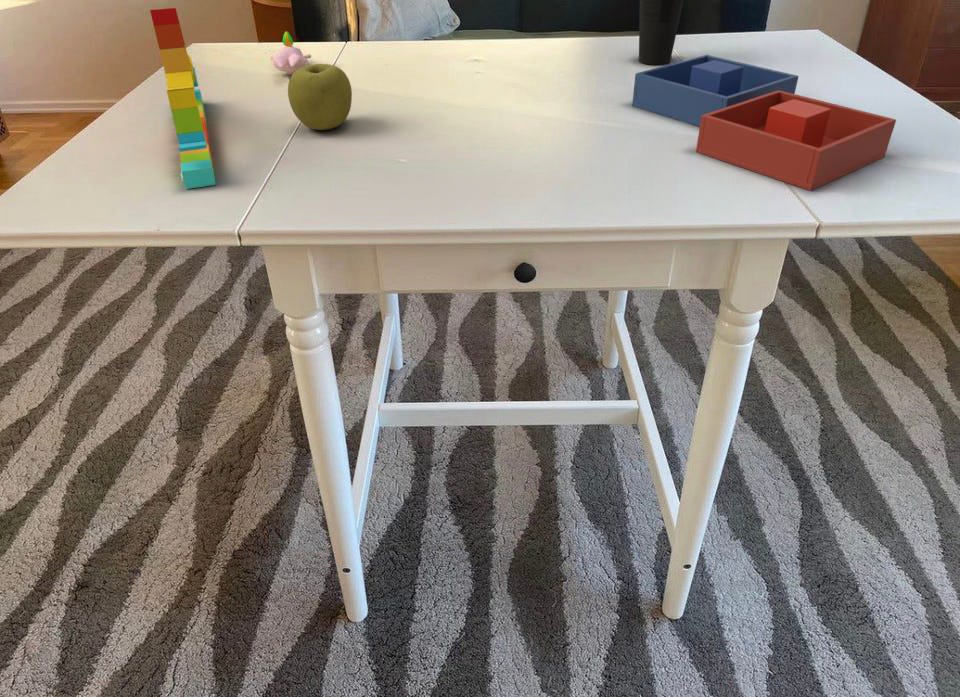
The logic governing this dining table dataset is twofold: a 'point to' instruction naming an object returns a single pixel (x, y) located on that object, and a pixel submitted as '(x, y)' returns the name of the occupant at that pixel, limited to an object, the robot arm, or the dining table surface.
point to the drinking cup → (658, 30)
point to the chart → (184, 101)
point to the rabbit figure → (289, 57)
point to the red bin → (748, 146)
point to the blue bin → (678, 100)
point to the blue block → (717, 77)
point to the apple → (320, 96)
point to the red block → (798, 122)
